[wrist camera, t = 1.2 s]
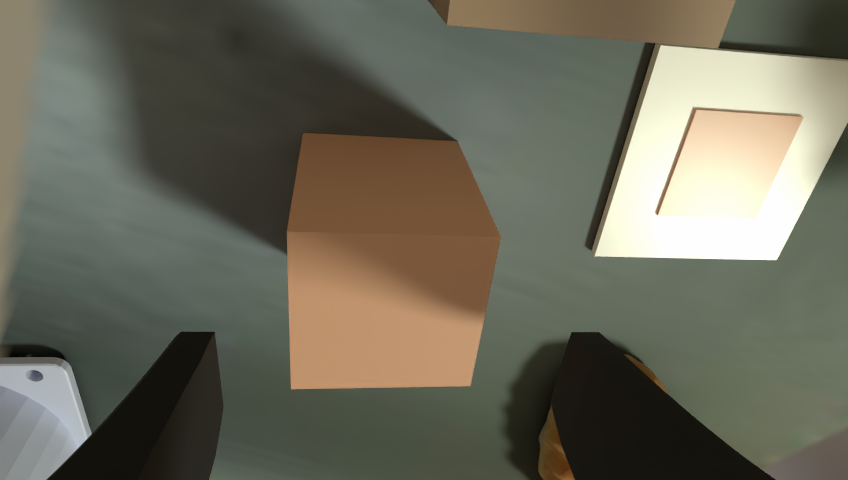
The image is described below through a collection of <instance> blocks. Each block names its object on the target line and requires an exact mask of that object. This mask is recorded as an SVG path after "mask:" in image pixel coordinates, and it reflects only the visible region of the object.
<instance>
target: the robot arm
mask: <svg viewBox="0 0 848 480" xmlns="http://www.w3.org/2000/svg"><path fill="white" fill-rule="evenodd" d="M34 370H36V371H39V372H41V373H39V372H36V371H34ZM550 402H551V406H552V411H553V415H554V419H555V423H556V427H557V431H558V434H559V438H560V442H561V445H562V448H563V451H564V453H565V456H566V459H567V461H568V464H569V466H570V469H571V471H572V474H573V476H574V479H575V480H775V479H774V478H772V477H771V476H770V475H768V474H767V473H765V472H764V471H763V470H761V469H760V468H758V467H757V466H756V465H754V464H753V463H751V462H750V461H749V460H747V459H746V458H745V457H743V456H742V455H741V454H739V453H738V452H737V451H735V450H734V449H733V448H731V447H730V446H729V445H728V444H726V443H725V442H724V441H723V440H722V439H720V438H719V437H718V436H717V435H715V434H714V433H713V432H712V431H710V430H709V429H708V428H707V427H705V426H704V425H703V424H702V423H700V422H699V421H698V420H697V419H696V418H695V417H693V416H692V415H691V414H690V413H689V412H687V411H686V410H685V409H684V408H683V407H682V406H681V405H679V404H678V403H677V402H676V401H675V400H674V399H673V398H671V397H670V396H669V395H668V394H667V393H666V392H665V391H663V390H662V389H661V388H660V387H659V386H658V385H657V384H656V383H655V382H653V381H652V380H651V379H650V378H649V377H648V376H647V375H646V374H645V373H644V372H643V371H641V370H640V369H639V368H638V367H637V366H636V365H635V364H634V363H633V362H632V361H631V360H629V359H628V358H627V357H626V356H625V355H624V354H623V353H622V352H621V351H620V350H619V349H617V348H616V347H615V346H614V345H613V344H612V343H611V342H610V341H608V340H607V339H606V338H605V337H604V336H603V335H601V334H600V333H599V332H572V333H571V336H570V339H569V342H568V345H567V348H566V352H565V355H564V358H563V361H562V364H561V367H560V371H559V374H558V377H557V380H556V383H555V386H554V390H553V393H552V396H551V399H550ZM222 413H223V398H222V390H221V381H220V373H219V364H218V356H217V348H216V339H215V332H180V333H179V334H178V335H177V336H176V337H175V338H174V339H173V340H172V342H171V343H170V344H169V346H168V347H167V348H166V349H165V351H164V352H163V353H162V354H161V356H160V357H159V358H158V359H157V361H156V362H155V363H154V364H153V366H152V367H151V368H150V369H149V370H148V372H147V373H146V374H145V375H144V376H143V378H142V379H141V380H140V381H139V382H138V383H137V385H136V386H135V387H134V388H133V389H132V390H131V392H130V393H129V394H128V395H127V396H126V397H125V398H124V399H123V401H122V402H121V403H120V404H119V405H118V406H117V407H116V408H115V410H114V411H113V412H112V413H111V414H110V415H109V416H108V417H107V419H106V420H105V421H104V422H103V423H102V424H101V425H100V426H99V427H98V428H97V429H96V430H95V431H94V432H93V433H92V434H91V430H90V427H89V424H88V420H87V417H86V414H85V411H84V407H83V404H82V401H81V397H80V394H79V391H78V388H77V384H76V381H75V378H74V374H73V371H72V368H71V366H70V365H69V363H67V362H66V361H65V360H63V359H60V358H56V357H3V358H0V480H209V477H210V473H211V470H212V466H213V463H214V459H215V455H216V449H217V443H218V437H219V432H220V425H221V419H222Z"/></svg>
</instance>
